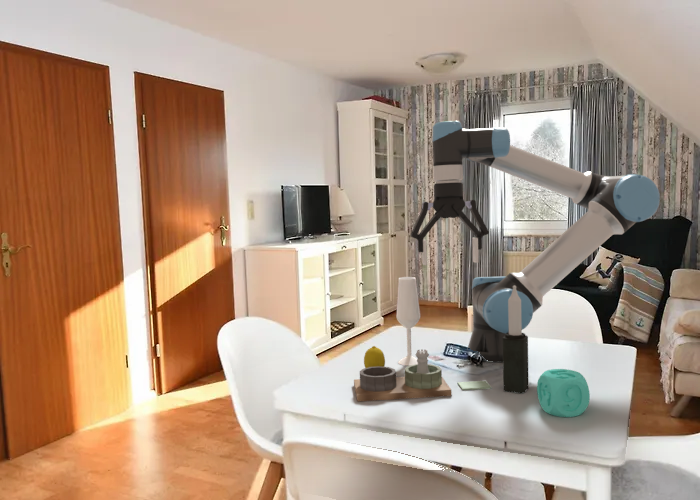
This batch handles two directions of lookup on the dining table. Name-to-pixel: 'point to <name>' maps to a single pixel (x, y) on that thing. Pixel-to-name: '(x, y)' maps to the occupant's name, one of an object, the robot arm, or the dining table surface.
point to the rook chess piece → (422, 361)
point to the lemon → (374, 358)
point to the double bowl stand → (400, 384)
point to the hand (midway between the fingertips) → (450, 263)
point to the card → (474, 385)
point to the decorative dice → (563, 392)
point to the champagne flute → (408, 312)
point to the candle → (515, 349)
